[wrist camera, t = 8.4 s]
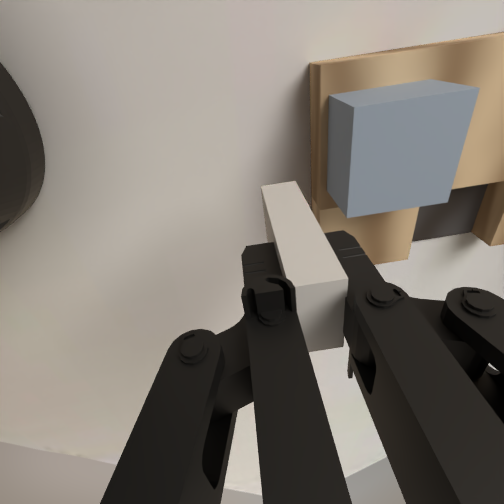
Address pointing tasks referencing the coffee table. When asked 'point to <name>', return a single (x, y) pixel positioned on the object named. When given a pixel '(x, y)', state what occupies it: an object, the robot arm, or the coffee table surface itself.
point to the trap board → (472, 157)
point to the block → (396, 145)
